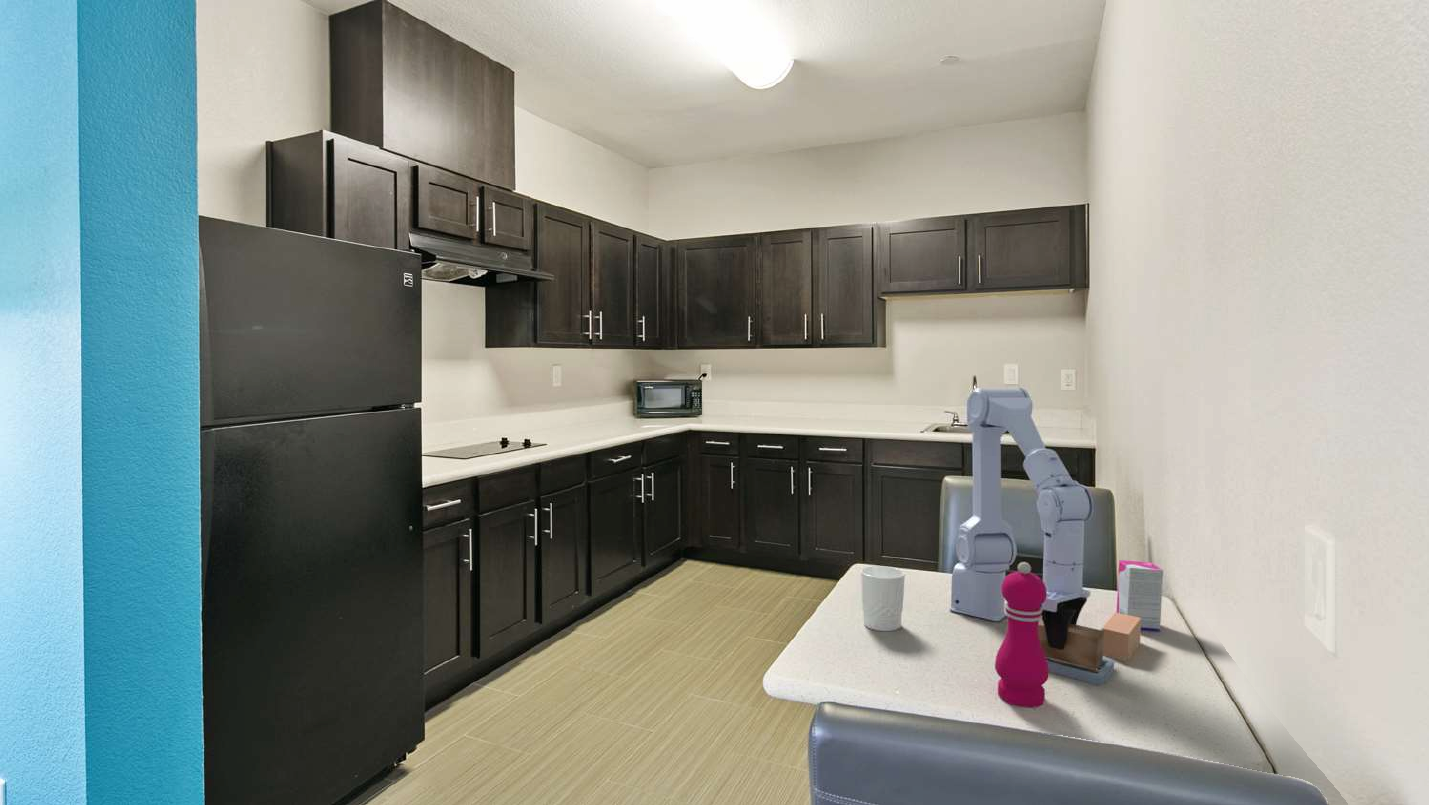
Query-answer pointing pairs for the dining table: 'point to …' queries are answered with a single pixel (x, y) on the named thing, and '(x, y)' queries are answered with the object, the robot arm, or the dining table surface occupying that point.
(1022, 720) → the dining table surface
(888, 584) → the white cup
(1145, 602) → the supplement box
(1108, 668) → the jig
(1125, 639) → the pinkish tan block
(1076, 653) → the wooden block on base
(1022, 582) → the pepper mill
